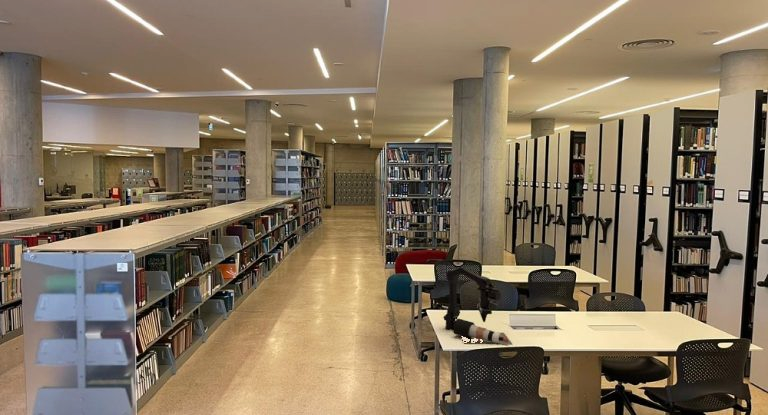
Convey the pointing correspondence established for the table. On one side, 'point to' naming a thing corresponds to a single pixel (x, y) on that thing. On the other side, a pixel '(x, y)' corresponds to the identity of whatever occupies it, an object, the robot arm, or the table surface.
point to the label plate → (490, 341)
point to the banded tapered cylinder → (476, 331)
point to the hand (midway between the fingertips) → (484, 322)
